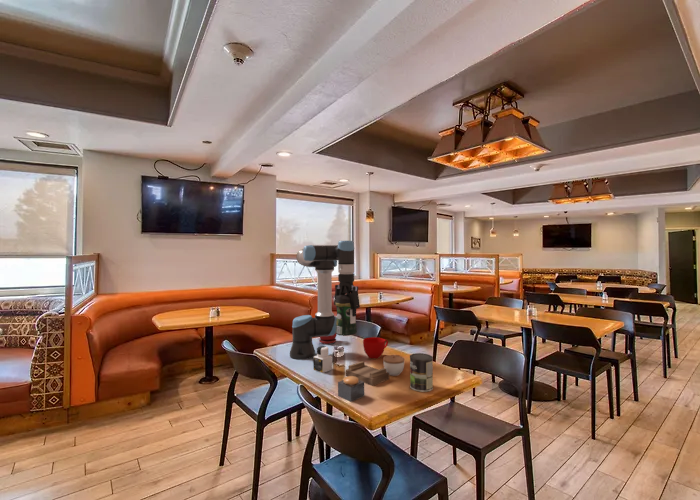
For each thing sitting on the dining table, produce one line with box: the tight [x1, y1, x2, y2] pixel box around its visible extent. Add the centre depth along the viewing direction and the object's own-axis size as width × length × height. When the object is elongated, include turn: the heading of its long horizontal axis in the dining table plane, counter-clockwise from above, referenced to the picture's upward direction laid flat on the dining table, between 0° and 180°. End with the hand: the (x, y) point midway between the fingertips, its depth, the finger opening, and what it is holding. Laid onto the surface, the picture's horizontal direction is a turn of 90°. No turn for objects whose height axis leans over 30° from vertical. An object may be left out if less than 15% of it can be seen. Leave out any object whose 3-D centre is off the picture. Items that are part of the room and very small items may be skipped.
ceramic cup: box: [362, 336, 389, 360], centre depth 199 cm, size 13×17×10 cm
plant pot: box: [319, 332, 338, 345], centre depth 232 cm, size 13×13×12 cm
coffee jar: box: [335, 294, 358, 337], centre depth 158 cm, size 10×8×19 cm
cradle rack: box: [345, 361, 390, 387], centre depth 166 cm, size 18×12×5 cm, turn 44°
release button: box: [343, 376, 359, 386], centre depth 144 cm, size 6×6×7 cm
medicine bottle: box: [312, 345, 333, 374], centre depth 177 cm, size 7×7×12 cm
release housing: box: [337, 379, 365, 402], centre depth 144 cm, size 8×8×6 cm
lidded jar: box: [382, 354, 405, 377], centre depth 171 cm, size 11×11×9 cm
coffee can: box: [409, 352, 434, 393], centre depth 153 cm, size 10×10×14 cm
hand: (346, 321), depth 158 cm, fingers closed on coffee jar, 8 cm apart
